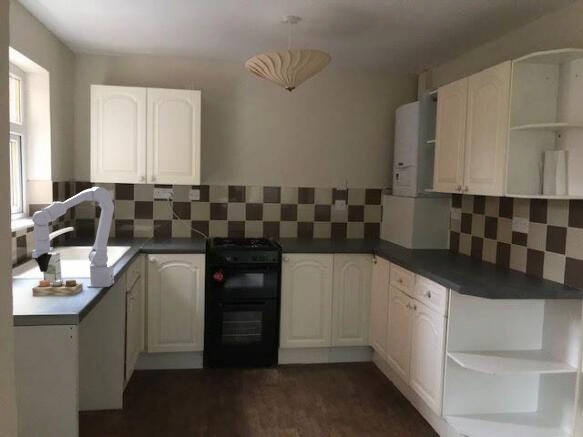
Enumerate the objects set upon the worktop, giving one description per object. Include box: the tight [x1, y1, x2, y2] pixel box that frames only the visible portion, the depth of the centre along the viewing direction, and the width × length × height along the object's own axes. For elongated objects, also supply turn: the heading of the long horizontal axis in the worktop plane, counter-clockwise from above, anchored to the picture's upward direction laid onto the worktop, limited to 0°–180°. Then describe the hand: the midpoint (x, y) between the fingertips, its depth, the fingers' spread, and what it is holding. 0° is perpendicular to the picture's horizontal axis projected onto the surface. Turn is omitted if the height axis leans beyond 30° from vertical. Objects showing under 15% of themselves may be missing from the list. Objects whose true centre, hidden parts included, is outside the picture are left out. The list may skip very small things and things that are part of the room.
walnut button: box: [65, 279, 77, 287], centre depth 207 cm, size 4×4×2 cm
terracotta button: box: [38, 279, 50, 287], centre depth 206 cm, size 4×4×2 cm
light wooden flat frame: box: [31, 282, 84, 296], centre depth 207 cm, size 17×9×3 cm, turn 92°
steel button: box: [52, 279, 64, 287], centre depth 207 cm, size 4×4×2 cm
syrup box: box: [42, 251, 63, 283], centre depth 221 cm, size 6×6×14 cm
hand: (43, 271), depth 206 cm, fingers closed
